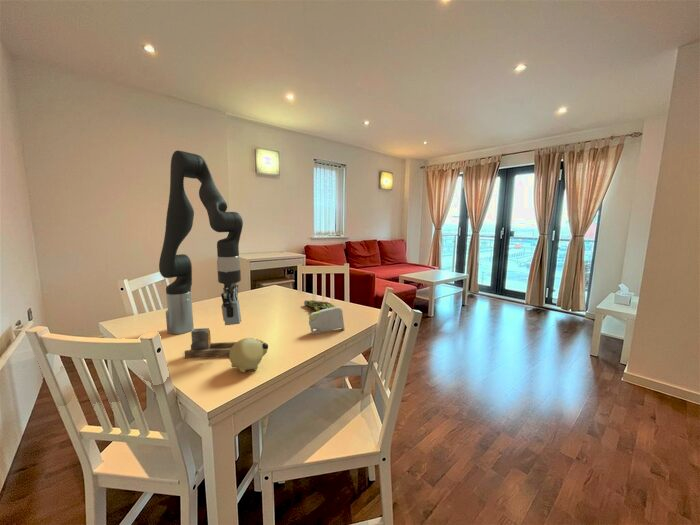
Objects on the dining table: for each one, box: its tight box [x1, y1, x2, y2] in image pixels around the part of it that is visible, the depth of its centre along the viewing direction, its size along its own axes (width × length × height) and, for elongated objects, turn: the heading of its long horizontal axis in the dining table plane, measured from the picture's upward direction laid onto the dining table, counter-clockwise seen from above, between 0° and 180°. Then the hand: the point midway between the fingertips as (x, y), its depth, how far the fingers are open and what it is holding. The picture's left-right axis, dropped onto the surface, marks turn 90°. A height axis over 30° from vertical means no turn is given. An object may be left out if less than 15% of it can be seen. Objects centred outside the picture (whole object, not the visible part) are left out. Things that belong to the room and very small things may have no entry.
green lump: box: [303, 299, 336, 312], centre depth 159 cm, size 12×7×25 cm
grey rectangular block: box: [221, 300, 242, 326], centre depth 106 cm, size 5×3×8 cm, turn 97°
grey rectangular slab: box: [308, 305, 345, 335], centre depth 128 cm, size 11×3×15 cm
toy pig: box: [229, 337, 269, 373], centre depth 96 cm, size 10×12×11 cm
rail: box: [184, 327, 237, 360], centre depth 107 cm, size 20×7×9 cm, turn 98°
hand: (231, 315), depth 106 cm, fingers closed on grey rectangular block, 3 cm apart
